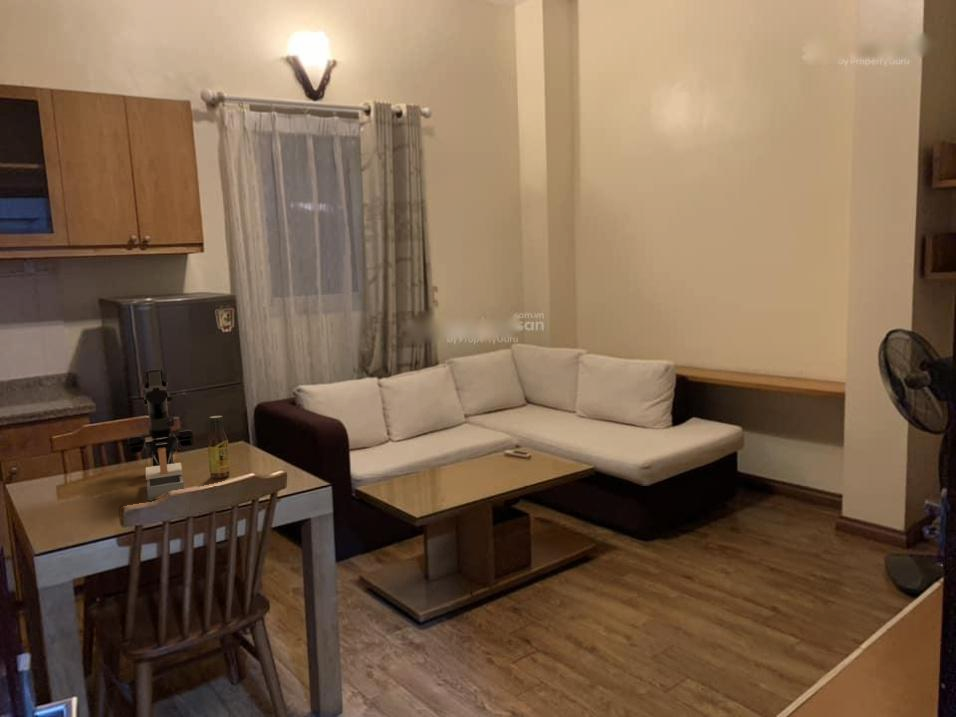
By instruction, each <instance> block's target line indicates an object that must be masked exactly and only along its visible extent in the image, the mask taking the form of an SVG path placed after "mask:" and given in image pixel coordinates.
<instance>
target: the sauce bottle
mask: <svg viewBox="0 0 956 717" xmlns="http://www.w3.org/2000/svg"><path fill="white" fill-rule="evenodd" d="M223 418H224V417H223V415H213V416H209V422H210V433H209V435H208V436H207V451H208V452H207V453H208V467H209V473H210V477H211V479H222V478H227V477H229V475H230V473H231V472H230V471H231V466H230V465H231V464H230V455H229V454H230V453H229V440H228V437H227V435H226V433H225V431H224V426H223V424H224V423H223V421H224V419H223Z"/></svg>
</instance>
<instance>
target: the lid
mask: <svg viewBox="0 0 956 717" xmlns="http://www.w3.org/2000/svg"><path fill="white" fill-rule="evenodd" d="M158 453H159V463H160V466H153V465H152V466H146V467H145V480H146V481H147V479H154V478H161V477H168V476H174V475H181V474H182V475H183V474H184V472H183V467H182V463H181V462H175V463H174V462H173V463H174V464H167V461H166V451H165V447H164V448H158Z"/></svg>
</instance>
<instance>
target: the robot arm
mask: <svg viewBox="0 0 956 717" xmlns="http://www.w3.org/2000/svg"><path fill="white" fill-rule="evenodd" d="M141 381H142V382H141V383H142V390H144V391H145V393H144V394H143V403H144V406H147V410H148V421H149V422H148V423H149V430H148V437H145V438H144V439H142V435H136V436H135V435H134V436H129V437H128V438H127V446H128V453H129V454H138V453H142V451H144V450H143V449H144V448H145V453H146V454H148V455H149V456H152V460H151V461H152V467H153V466H160V463H159V453H158V448H164V447H165V451H166V461H167V464H174V456H173V453H176V452H177V451H178V447H179V446H178V443H179V445H180V446H181V447H183V448H184V447H192V446H193V445H194V435H193V431H192V430H191V429H186V430H178V435H175V434H173V433H172V427H173V428H175V417H174V415H169V409H168V406H169V403H171V401H172V398H173V397H172V395H171V393H170V392H169V391H167V388H169V380H168V374H167V373H166V372H164V371H163V370H162V369H160V368H157V369H148V370H146V373H144V374H143V375H142V376H141Z"/></svg>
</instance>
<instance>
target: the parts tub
mask: <svg viewBox="0 0 956 717" xmlns="http://www.w3.org/2000/svg"><path fill="white" fill-rule="evenodd" d="M178 489H184V490H185V485H184V478H183V474H181V475H174V476H168V477H161V478H154V479H147V480H146V490H147V491H146V494H147V501H148V500H150V501H153V500H152V499H156V498H157V497H159V496H161V495H162V494H164V493H167V492H169V491H172V490H178ZM156 500H157V499H156Z"/></svg>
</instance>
